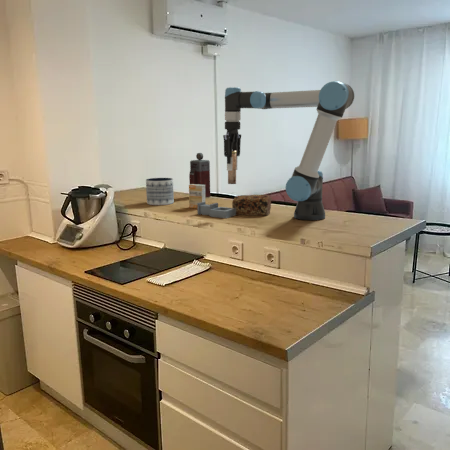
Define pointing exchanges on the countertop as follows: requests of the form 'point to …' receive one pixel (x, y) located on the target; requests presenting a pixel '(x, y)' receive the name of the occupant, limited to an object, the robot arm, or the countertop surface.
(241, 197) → the bread
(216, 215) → the grey ring bracket
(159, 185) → the planter
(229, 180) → the pipe stub
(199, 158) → the coffee press
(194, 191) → the supplement box
